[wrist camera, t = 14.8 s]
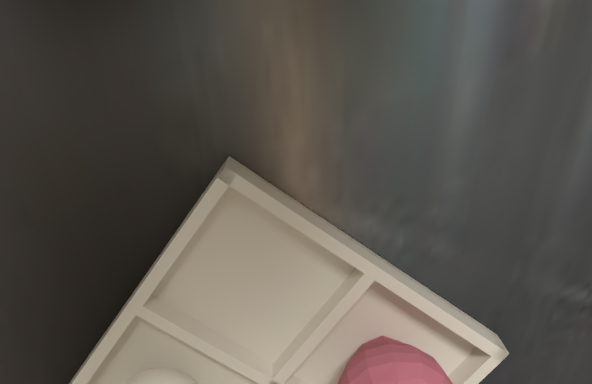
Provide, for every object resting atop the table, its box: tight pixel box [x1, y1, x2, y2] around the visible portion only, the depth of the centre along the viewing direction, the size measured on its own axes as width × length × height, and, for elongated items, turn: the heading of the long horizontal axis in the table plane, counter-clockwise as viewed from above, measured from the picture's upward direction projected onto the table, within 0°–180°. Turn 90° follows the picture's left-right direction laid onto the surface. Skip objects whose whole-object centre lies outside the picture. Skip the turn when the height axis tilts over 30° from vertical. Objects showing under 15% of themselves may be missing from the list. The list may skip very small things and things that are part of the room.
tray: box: [69, 156, 509, 384], centre depth 42 cm, size 27×27×2 cm
